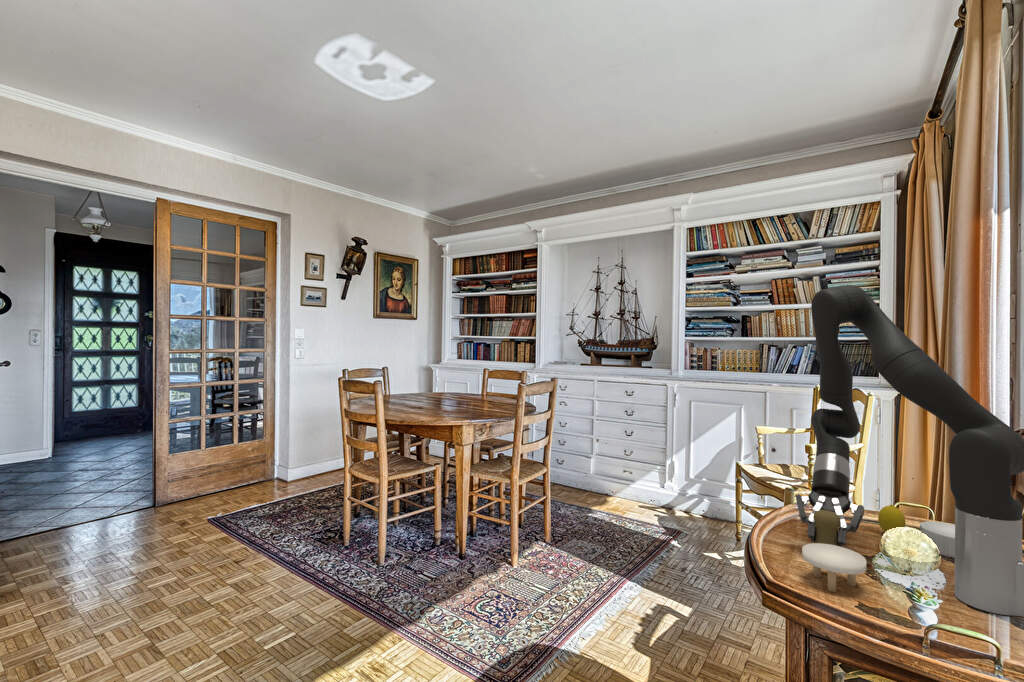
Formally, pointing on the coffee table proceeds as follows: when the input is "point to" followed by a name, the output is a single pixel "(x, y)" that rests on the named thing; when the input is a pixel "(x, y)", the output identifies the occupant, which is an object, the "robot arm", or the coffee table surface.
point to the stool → (834, 562)
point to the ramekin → (941, 536)
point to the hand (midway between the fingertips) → (826, 542)
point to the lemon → (891, 518)
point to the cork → (826, 527)
